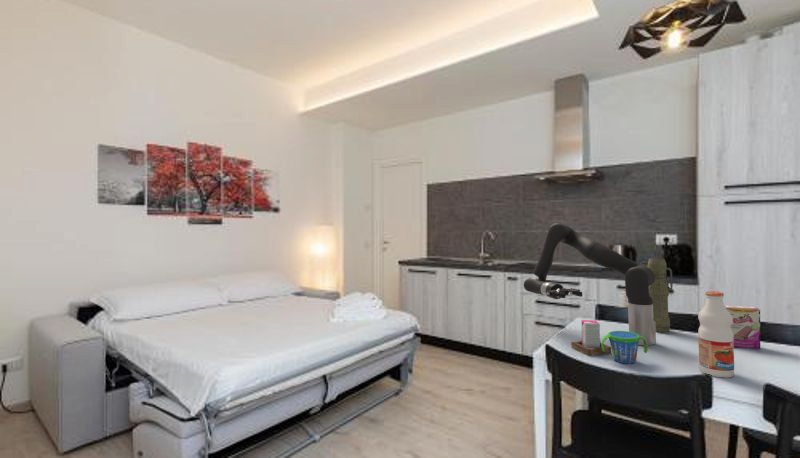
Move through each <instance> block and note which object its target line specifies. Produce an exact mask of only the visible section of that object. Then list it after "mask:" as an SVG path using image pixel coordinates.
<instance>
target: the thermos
mask: <svg viewBox="0 0 800 458" xmlns="http://www.w3.org/2000/svg"><path fill="white" fill-rule="evenodd" d="M647 267H648V268H650V269H651V270H652V271H653V272H654V274H655V277H656V279H655V282H654V283H653V284H651V285H650V286H649V295H650V296H651V297H652V298H653V321H655V322H656V334H657V333H658V334H659V333H660V334H668V333H670V332H671V330H670V328H671V320H670V316H669V295H670V291H673V270H672V269H671V268H670V267H667V262H666V259H665V258H663V257H650V258H648V262H647ZM668 271H669V276H670V277H669V278H670V282H669V281H668V277H667V274H668ZM669 283H670V286H669Z"/></svg>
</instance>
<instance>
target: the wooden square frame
mask: <svg viewBox="0 0 800 458" xmlns="http://www.w3.org/2000/svg"><path fill="white" fill-rule="evenodd" d="M601 343H602V342H600V347H596V348H587V347H585V346H582V340H575V341H571V343H570V345H571V349H573V350H576V351H577V352H579V353H582V354H583V355H586V356H588V357H589V356H597V355H606V354H607V355H608V354H612V349H611V345H610V346H609V345H607V344H605V343H604V350H605V352H604V351H603V350H602V347H601Z"/></svg>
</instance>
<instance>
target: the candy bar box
mask: <svg viewBox="0 0 800 458" xmlns="http://www.w3.org/2000/svg"><path fill="white" fill-rule="evenodd" d="M724 306H725V308H726V310H727V311H728V312H729V313H730V314H731V316H732V325H731V330H732V332H733V338H734V348H739V349H740V348H741V349H742V348H743V349H753V350H754V349H756V350H761V309H760V308H757V307H756V306H742V305H725V304H724Z"/></svg>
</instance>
